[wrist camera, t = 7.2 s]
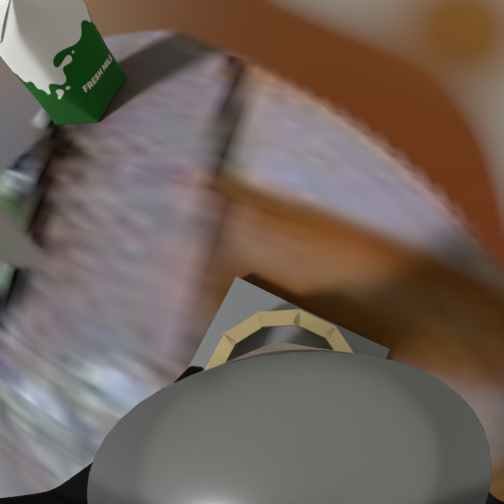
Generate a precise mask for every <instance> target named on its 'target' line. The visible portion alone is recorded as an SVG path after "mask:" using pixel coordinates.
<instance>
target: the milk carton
mask: <svg viewBox="0 0 504 504" xmlns="http://www.w3.org/2000/svg"><path fill="white" fill-rule="evenodd" d="M0 56H1V57H2V58H3V59H4V61H5V62H6V63H7V64H8V66H9V67H10V68H11V69H12V70H13V72H14V73H15V74H16V75H17V77H18V78H19V79H20V80H21V82H22V83H23V84H24V85H25V86H26V88H27V89H28V90H29V91H30V92H31V93H32V95H33V96H34V97H35V98H36V99H37V100H38V101H39V103H40V104H41V105H42V107H43V108H44V110H45V111H46V112H47V113H48V115H49V116H50V117H51V119H52V120H53V121H54V123H55V124H56V125H61V124H74V123H91V122H99V120H100V119H101V117H102V115H103V114H104V112H105V110H106V108H107V107H108V105H109V104H110V102H111V100H112V99H113V97H114V96H115V94H116V92H117V91H118V89H119V88H120V86H121V85H122V83H123V82H124V80H125V79H126V76H125V74H124V73H123V71H122V69H121V68H120V66H119V65H118V63H117V62H116V60H115V59H114V57H113V55H112V54H111V52H110V51H109V49H108V48H107V46H106V44H105V42H104V41H103V39H102V37H101V35H100V33H99V31H98V29H97V27H96V25H95V23H94V22H93V20H92V18H91V16H90V14H89V12H88V10H87V8H86V6H85V4H84V2H83V0H0Z"/></svg>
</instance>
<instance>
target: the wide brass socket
mask: <svg viewBox="0 0 504 504" xmlns="http://www.w3.org/2000/svg"><path fill="white" fill-rule="evenodd" d="M289 326H295V327H297V328H299V329H301V330H303V331H305V332H307V333H309V334H312V335H314V336H316V337H318V338H320V340H321V341H322V343H323V344H324V346H325V347H326V349H327V350H334V351H341V352H348V353H353V351H352V350H351V348H350V347H349V345H348V344H347V342H346V341H345V339H344V338H343V336H342V335H341V333H340V332H339V330H338V329H337V327H336V326H334V325H332V324H330V323H328V322H326V321H324V320H321V319H319V318H317V317H315V316H313V315H311V314H309V313H307V312H304V311H302V310H300V309H294V310H280V311H264V312H257V313H256V314H254V315H253V316H251V317H249V318H248V319H246V320H245V321H243V322H242V323H240V324H238V325H237V326H235V327H234V328H232V329H231V330H229V331H227V332H226V333H224V334H223V336H222V338H221V340H220V342H219V344H218V346H217V348H216V349H215V351H214V353H213V355H212V357H211V359H210V361H209V363H208V364H207V366H206V368H205V370H207V369H209V368H212V367H214V366H217V365H220V364H222V363H225V362H227V361H230V360H232V359H233V357H234V355H235V353H236V351H237V349H238V348H239V346H240V344H241V343H242V342H244V341H245V340H247V339H249V338H250V337H252V336H253V335H255V334H256V333H258V332H260V331H261V330H263V329H264V328H274V327H289Z"/></svg>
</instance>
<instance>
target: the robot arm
mask: <svg viewBox="0 0 504 504" xmlns="http://www.w3.org/2000/svg"><path fill="white" fill-rule="evenodd" d="M201 371H204V368H203V367H201V366H190V367H188V368H187V370H186V371H185V372H184V373H183V374H182V375H181V376H180V377H179V378H178V379H177V380H176V381H175V382H174V383H176V382H178V381H180V380H182V379H184V378H186V377H188V376H190V375H193V374H196V373H199V372H201ZM92 464H93V462H92V463H91V464H90V465H88V466H87V467H86V468H84V469H83V470H81V471H80V472H79V473H77V474H76V475H75V476H73V477H72V478H70V479H69V480H67V481H66V482H65V483H63V484H62V485H60V486H58V487H57V488H55V489H52V490H50V491H46V492H42V493H36V494H30V495H23V496H15V497H6V498H0V504H88V499H87V488H88V480H89V473H90V470H91V467H92ZM485 504H504V502H502V501H500V500H498V499H497V498H495V497H494V496H493V495H492V494H491V493H490V492H488V497H487V500H486V503H485Z"/></svg>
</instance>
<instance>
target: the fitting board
mask: <svg viewBox="0 0 504 504" xmlns="http://www.w3.org/2000/svg"><path fill="white" fill-rule="evenodd" d="M294 309H300V310H302V311H304V312H307V313H309V314H311V315H313V316H315V317H317V318H319V319H321V320H324V321H326V322H328V323H330V324H332V325H334V326H336V327H337V329H338V330H339V332H340V333H341V335H342V336H343V338H344V339H345V341H346V342H347V344H348V345H349V347H350V348H351V350H352V351H353V353H356V354H363V355H368V356H373V357H378V358H383V359H386V357H387V355H388V352H389V350H390V349H389V348H386V347H384V346H382V345H380V344H377V343H375V342H373V341H371V340H369V339H366V338H364V337H362V336H360V335H358V334H355V333H353V332H351V331H349V330H347V329H345V328H342V327H340V326H338V325H336V324H334V323H332V322H330V321H327V320H325V319H323V318H321V317H319V316H317V315H315V314H312V313H310V312H308V311H306V310H304V309H302V308H300V307H298V306H296V305H294V304H292V303H289V302H287V301H285V300H283V299H281V298H279V297H277V296H275V295H273V294H271V293H269V292H267V291H265V290H263V289H261V288H259V287H257V286H254V285H252V284H250V283H248V282H246V281H244V280H242V279H240V278H238V277H236V278H235V280H234V282H233V284H232V286H231V288H230V290H229V291H228V293H227V295H226V297H225V299H224V301H223V303H222V305H221V307H220V308H219V310H218V312H217V314H216V316H215V318H214V320H213V322H212V324H211V325H210V327H209V329H208V331H207V333H206V335H205V337H204V339H203V341H202V342H201V344H200V346H199V348H198V350H197V352H196V354H195V356H194V358H193V359H192V361H191V363H190V365H189V367H190V366H201V367H203V368H204V370H205V368H206V366H207V364H208V363H209V361H210V359H211V357H212V355H213V353H214V351H215V349H216V348H217V346H218V344H219V342H220V340H221V338H222V336H223V334H224V333H226V332H227V331H229V330H231V329H232V328H234V327H235V326H237V325H238V324H240V323H242V322H243V321H245V320H246V319H248V318H249V317H251V316H253V315H254V314H256V313H257V312H264V311H280V310H294ZM275 343H290V344H296V345H302V346H308V347H314V348H321V349H326V347H325V346H324V344H323V343H322V341H321V340H320V338H318V337H316V336H314V335H312V334H309V333H307V332H305V331H303V330H301V329H299V328H297V327H295V326H289V327H274V328H264V329H263V330H261V331H260V332H258V333H256V334H255V335H253V336H252V337H250V338H249V339H247V340H245V341H244V342H242V343H241V344H240V346H239V348H238V349H237V351H236V353H235V355H234V357H233V359H235V358H237V357H240V356H242V355H244V354H247V353H249V352H252V351H254V350H256V349H259V348H261V347H264V346H266V345H270V344H275Z"/></svg>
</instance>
